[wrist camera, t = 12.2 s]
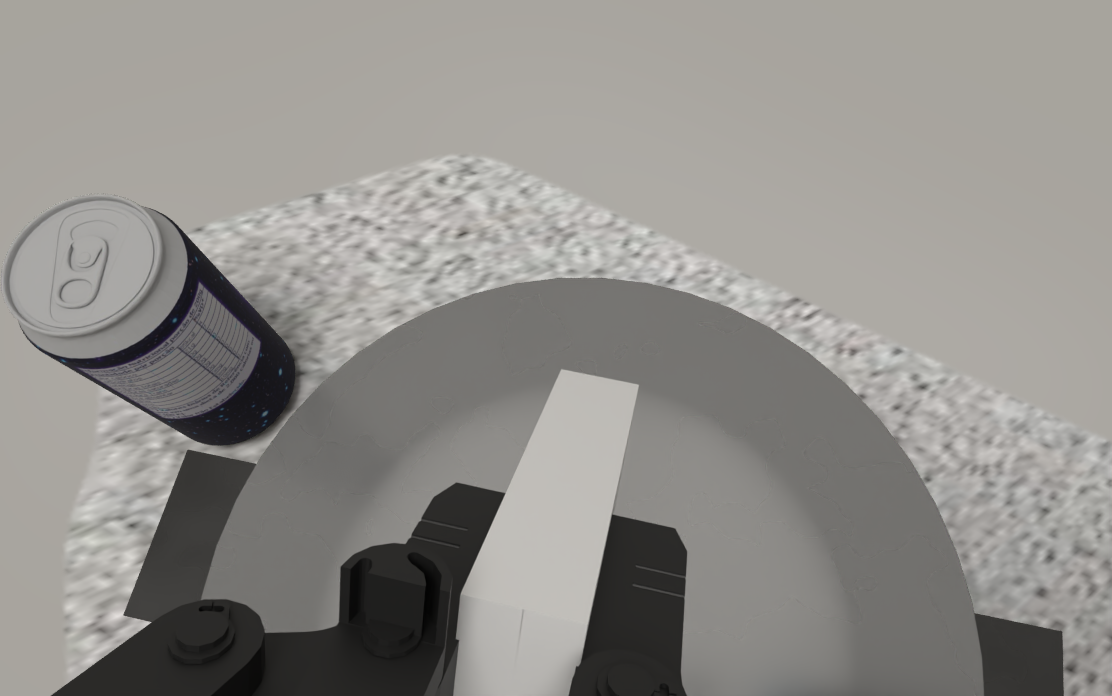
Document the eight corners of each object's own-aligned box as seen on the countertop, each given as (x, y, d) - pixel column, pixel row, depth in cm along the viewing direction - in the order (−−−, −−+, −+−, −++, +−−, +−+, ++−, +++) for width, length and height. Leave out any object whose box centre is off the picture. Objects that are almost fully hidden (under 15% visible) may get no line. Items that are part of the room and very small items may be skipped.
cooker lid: (970, 357, 24) (1010, 325, 22) (951, 1240, 17) (1008, 1328, 15) (341, 247, 26) (318, 208, 24) (81, 987, 19) (14, 1030, 17)
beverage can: (310, 330, 36) (189, 182, 25) (291, 452, 34) (150, 349, 23) (188, 329, 37) (16, 181, 26) (162, 449, 35) (-39, 345, 23)
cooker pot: (934, 454, 33) (1070, 372, 24) (913, 1039, 26) (1092, 1242, 17) (344, 343, 36) (260, 231, 27) (178, 843, 29) (-14, 926, 20)
